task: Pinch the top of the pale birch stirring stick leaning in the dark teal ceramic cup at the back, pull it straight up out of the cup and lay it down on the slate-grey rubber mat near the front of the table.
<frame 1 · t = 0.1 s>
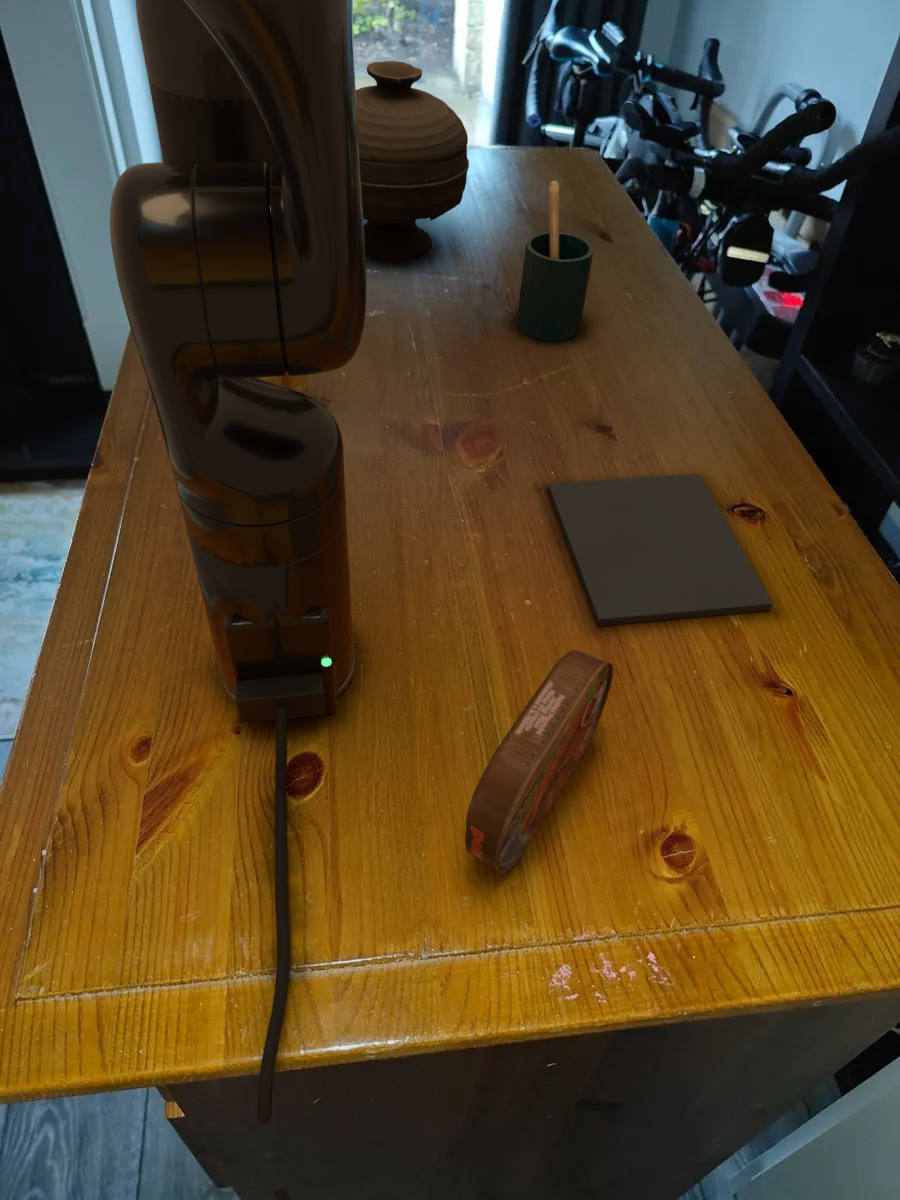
hand: (257, 348, 56), 17 cm above the dresser, tool pointing down, fingers open, 8 cm apart
tin: (532, 791, 54), on the dresser
mat: (651, 546, 70), on the dresser
cup: (548, 325, 94), on the dresser
stirring stick: (554, 258, 90), point 7 cm above the dresser, touching cup
sauce bottle: (278, 413, 80), on the dresser
pot: (392, 246, 106), on the dresser
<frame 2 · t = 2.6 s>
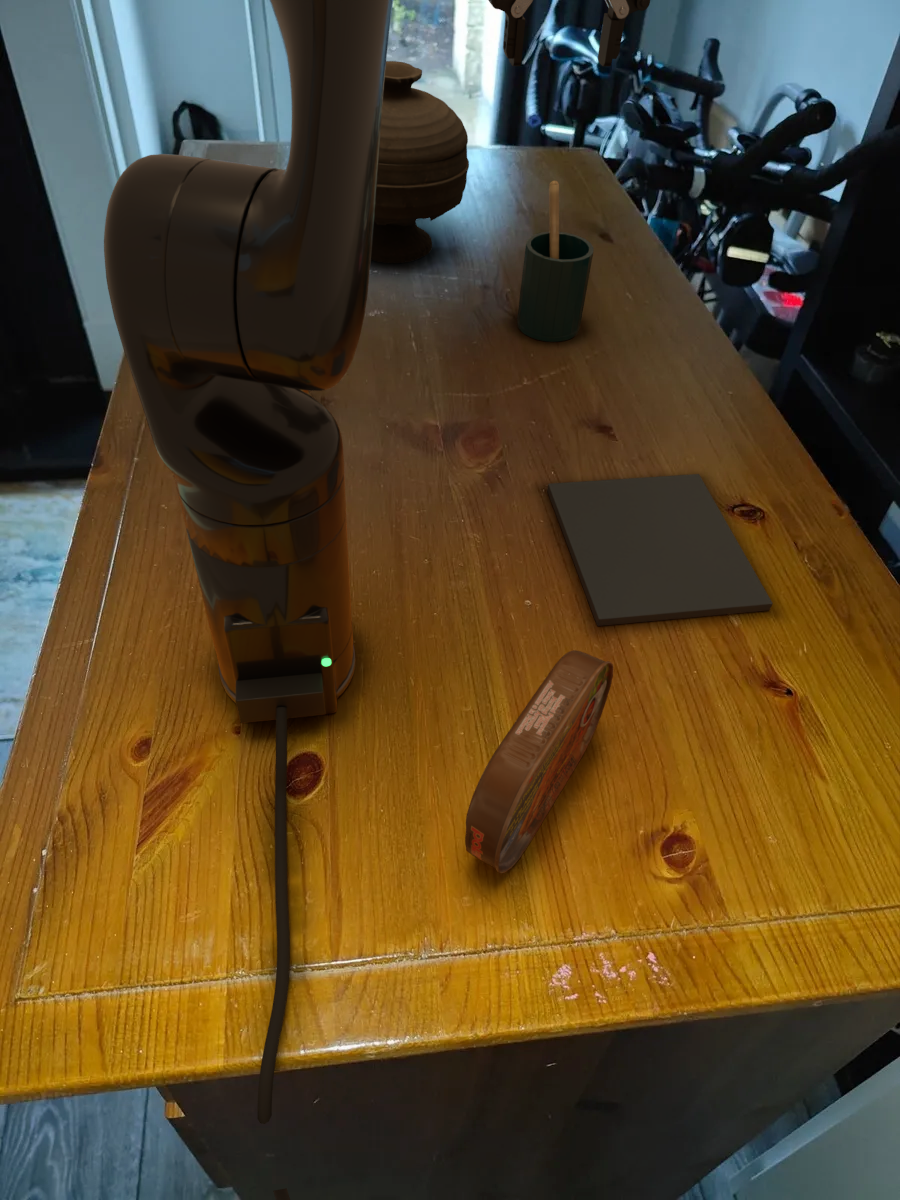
hand: (559, 63, 77), 25 cm above the dresser, tool pointing down, fingers open, 8 cm apart
nothing on the dresser moved.
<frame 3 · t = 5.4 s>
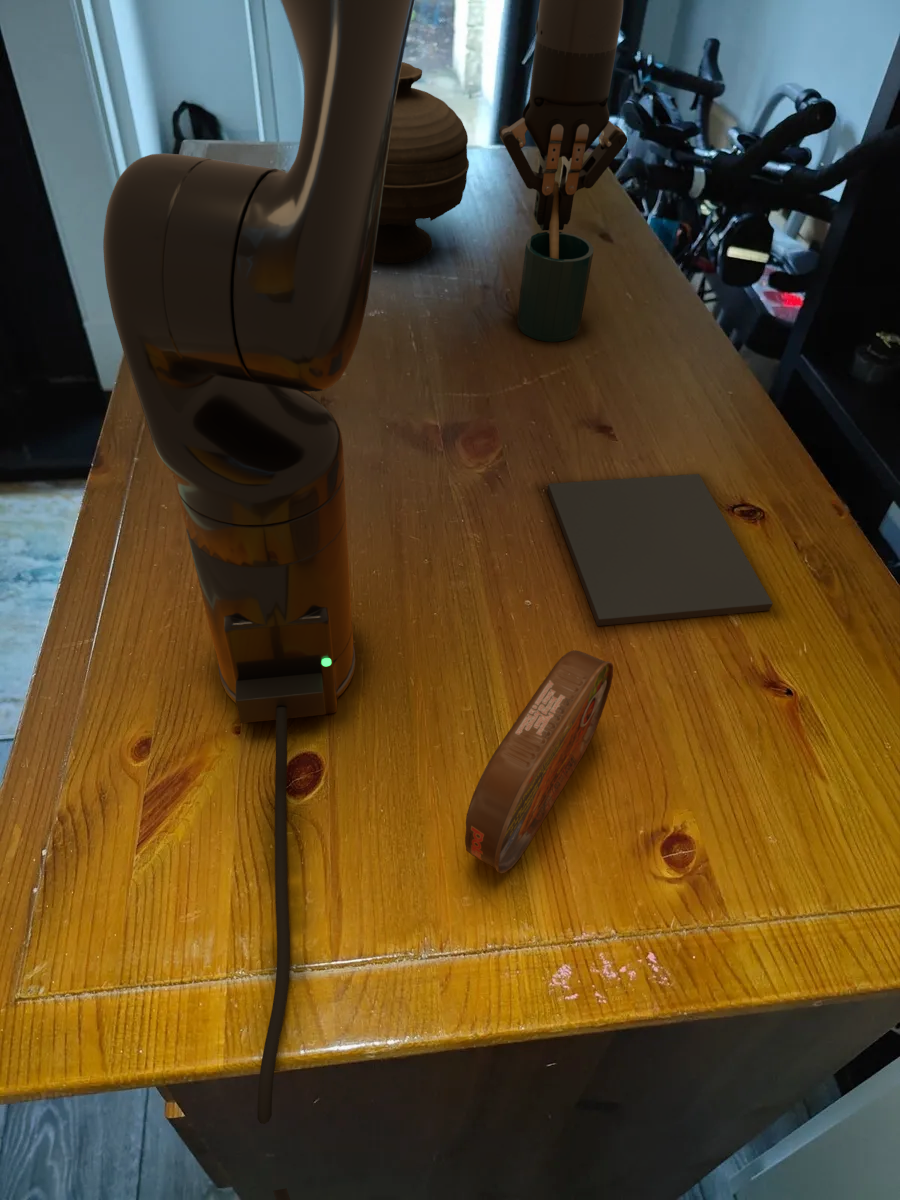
hand: (550, 226, 90), 9 cm above the dresser, tool pointing down, fingers closed on stirring stick, 1 cm apart
stirring stick: (554, 258, 90), point 7 cm above the dresser, touching cup, gripper
everything else where it was.
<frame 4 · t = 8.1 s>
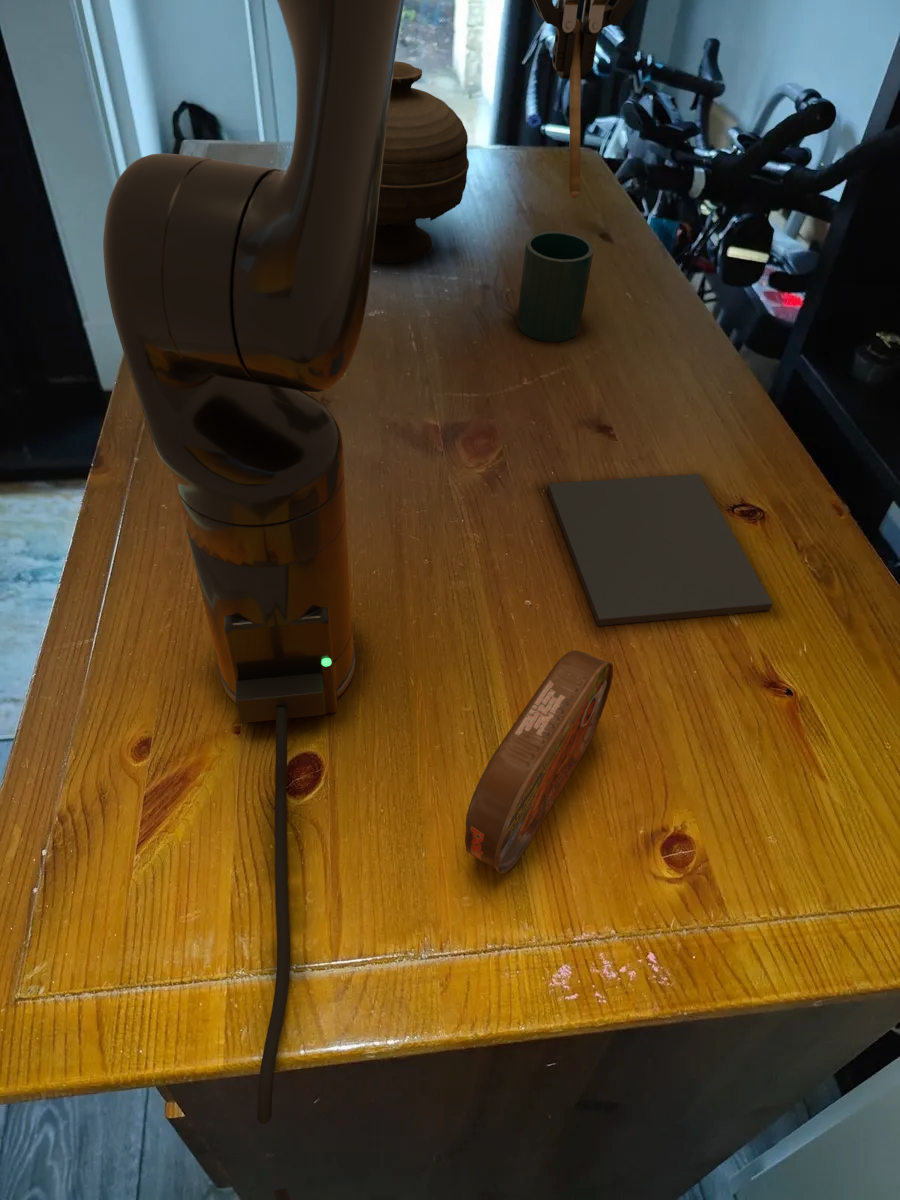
hand: (571, 76, 80), 23 cm above the dresser, tool pointing down, fingers closed on stirring stick, 1 cm apart
stirring stick: (575, 110, 79), point 21 cm above the dresser, touching gripper
everything else where it was.
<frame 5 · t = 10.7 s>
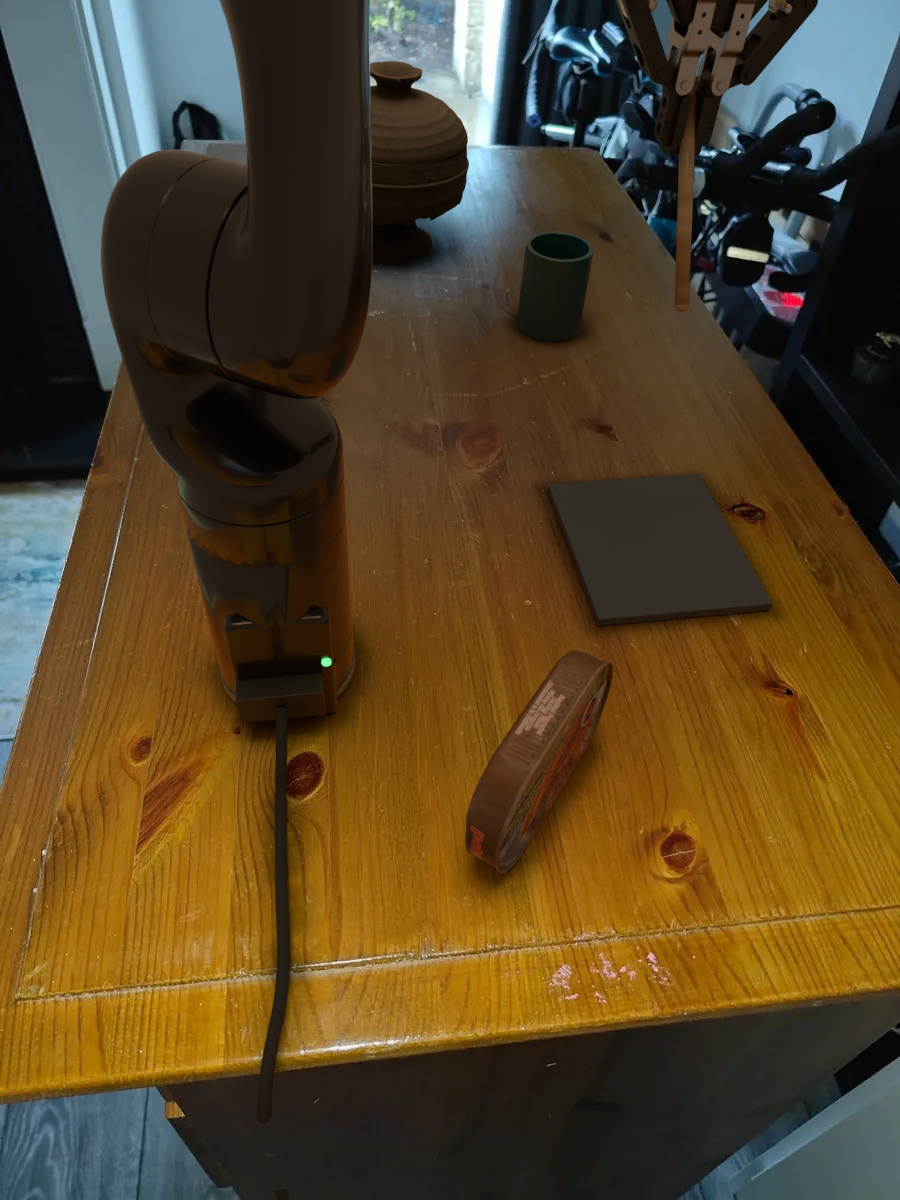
hand: (679, 150, 59), 27 cm above the dresser, tool pointing down, fingers closed on stirring stick, 1 cm apart
stirring stick: (685, 197, 58), point 24 cm above the dresser, touching gripper
everything else where it was.
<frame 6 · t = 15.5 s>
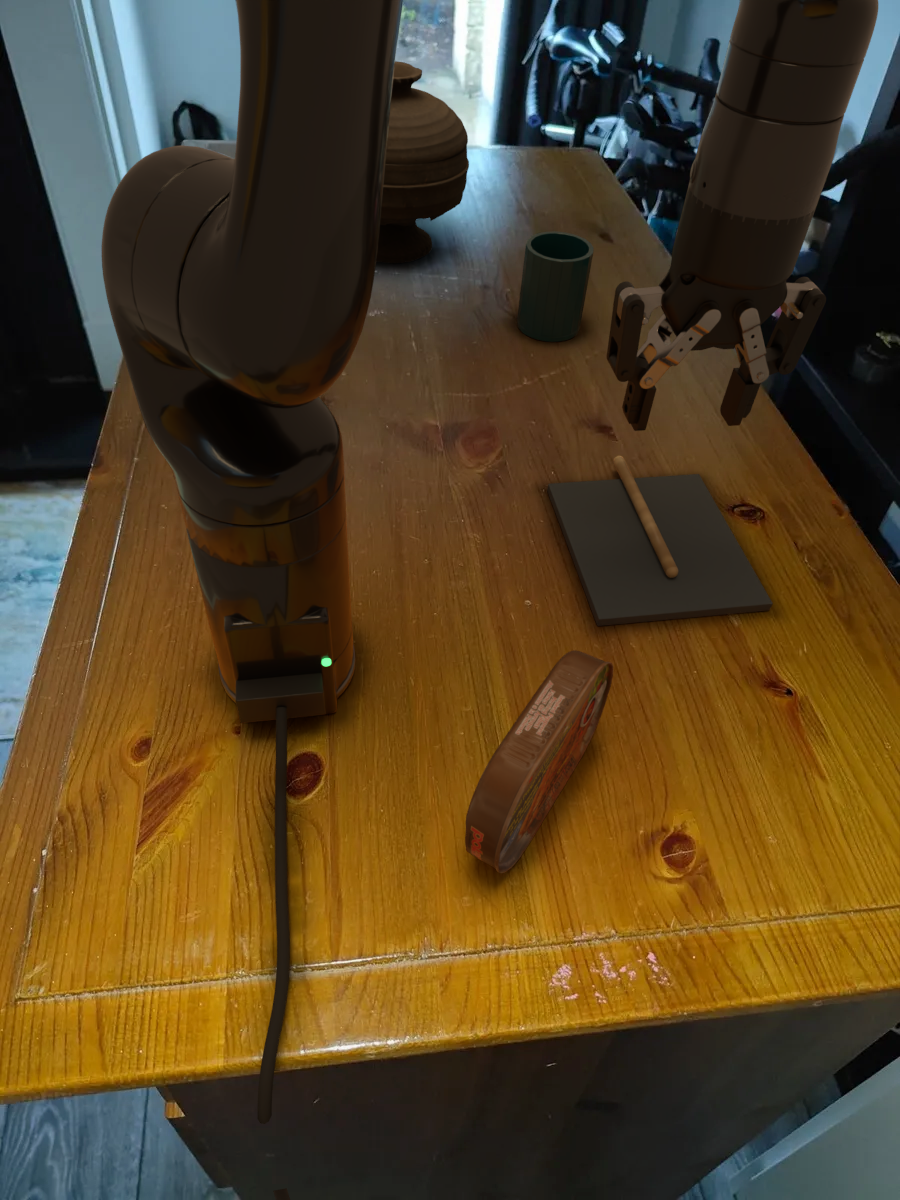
hand: (683, 421, 62), 12 cm above the dresser, tool pointing down, fingers open, 6 cm apart
stirring stick: (643, 512, 71), point 1 cm above the dresser, tilted 60°, touching mat
everything else where it was.
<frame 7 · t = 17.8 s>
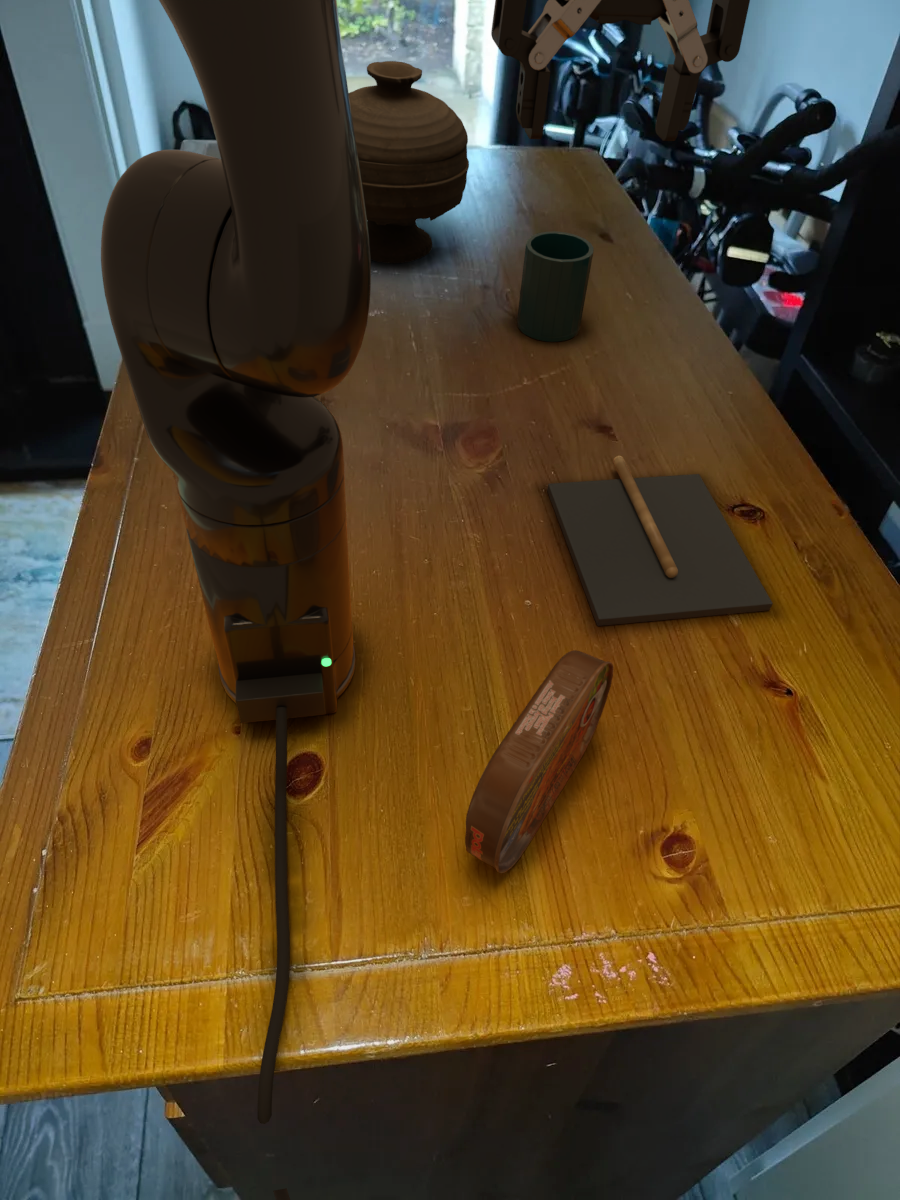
hand: (599, 136, 52), 29 cm above the dresser, tool pointing down, fingers open, 8 cm apart
nothing on the dresser moved.
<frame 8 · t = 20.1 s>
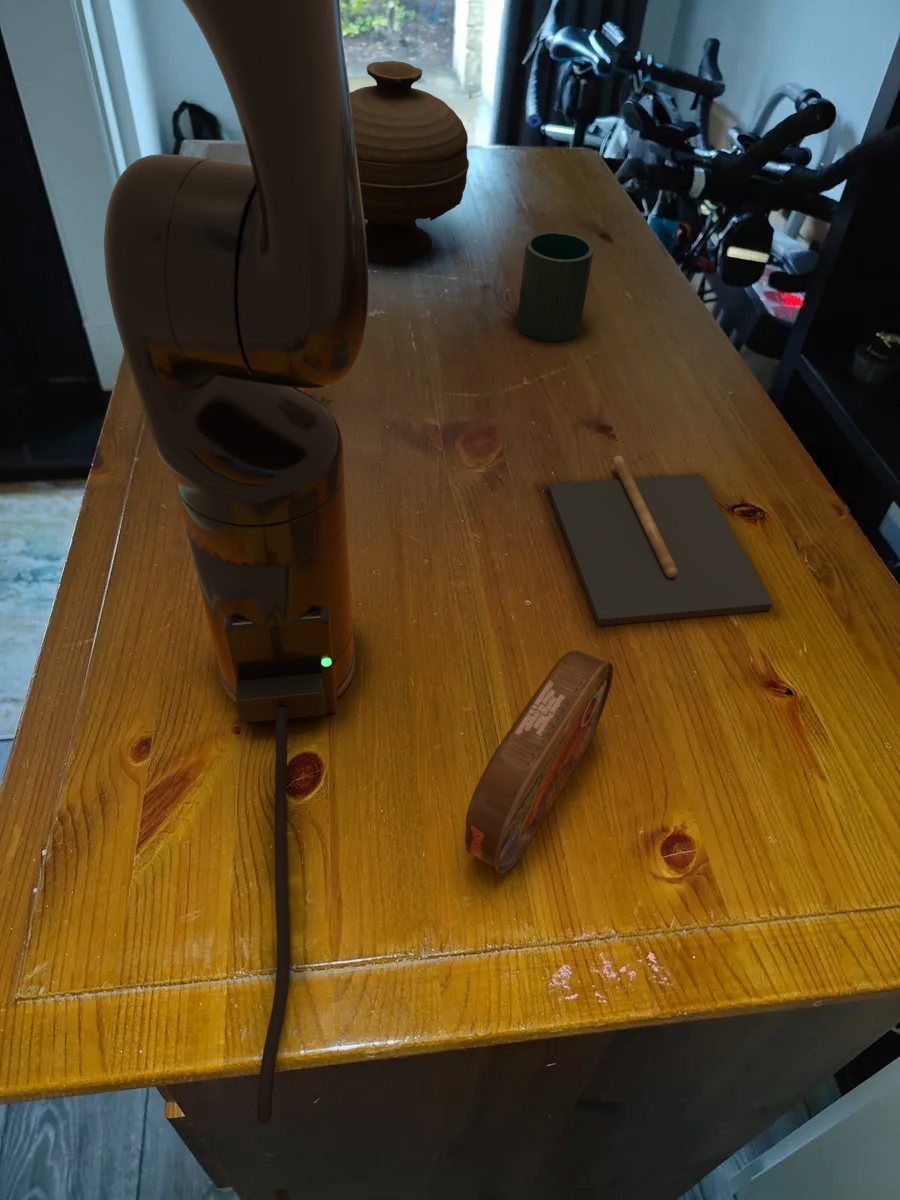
nothing on the dresser moved.
at the end: stirring stick inside the target area on the mat (2.8 cm from its centre), point 1.3 cm above the mat's base; stirring stick touching mat; the gripper is holding nothing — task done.
